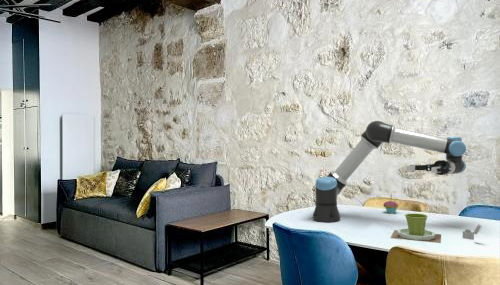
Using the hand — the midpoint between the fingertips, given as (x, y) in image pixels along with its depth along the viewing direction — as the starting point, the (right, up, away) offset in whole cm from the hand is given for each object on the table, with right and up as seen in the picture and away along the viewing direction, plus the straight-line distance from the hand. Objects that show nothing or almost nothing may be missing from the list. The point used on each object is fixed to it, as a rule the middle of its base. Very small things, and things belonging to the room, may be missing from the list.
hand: (418, 169), depth 187 cm
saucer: (-8, -29, -15) cm, 33 cm away
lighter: (+14, -30, -20) cm, 39 cm away
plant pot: (-8, -28, -15) cm, 33 cm away
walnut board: (-8, -30, -15) cm, 35 cm away
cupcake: (+4, -30, +47) cm, 56 cm away
